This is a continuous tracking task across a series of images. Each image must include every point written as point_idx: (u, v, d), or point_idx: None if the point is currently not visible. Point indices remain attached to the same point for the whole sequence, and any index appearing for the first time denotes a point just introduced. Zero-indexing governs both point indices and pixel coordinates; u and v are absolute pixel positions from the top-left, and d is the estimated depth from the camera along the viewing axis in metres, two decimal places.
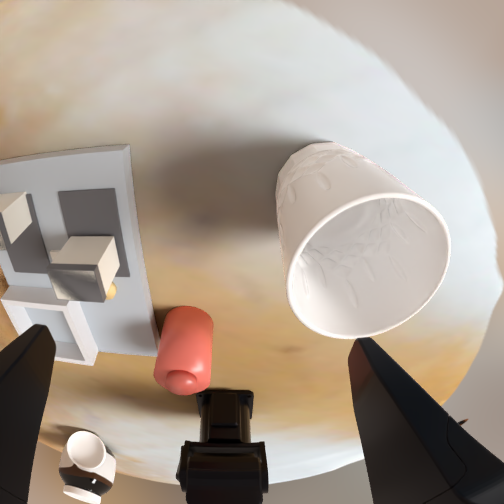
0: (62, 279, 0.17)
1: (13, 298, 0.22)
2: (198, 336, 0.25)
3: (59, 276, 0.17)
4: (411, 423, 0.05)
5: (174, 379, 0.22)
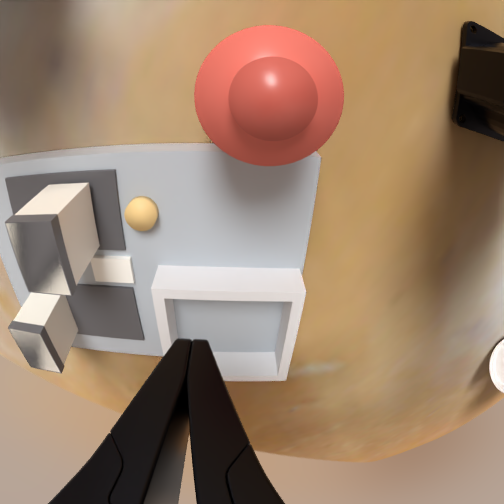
0: (33, 273, 0.11)
1: None
2: None
3: (31, 277, 0.12)
4: (195, 440, 0.05)
5: (234, 109, 0.08)
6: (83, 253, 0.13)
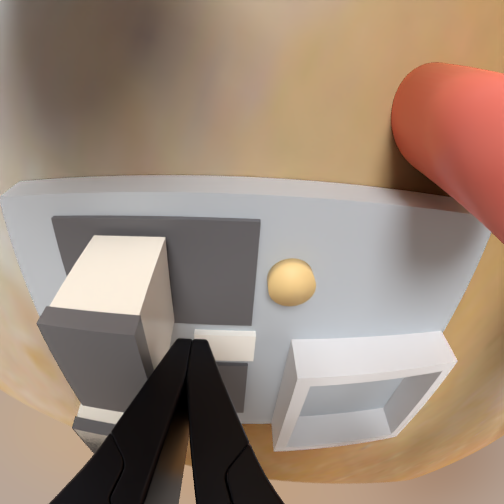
0: (94, 390, 0.07)
1: (277, 436, 0.15)
2: (458, 87, 0.06)
3: (89, 392, 0.07)
4: (194, 440, 0.05)
5: None
6: (163, 346, 0.09)
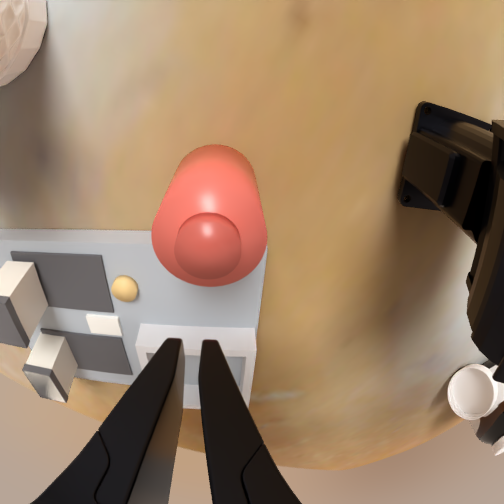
0: (0, 332, 0.14)
1: None
2: (172, 181, 0.14)
3: None
4: (208, 441, 0.05)
5: (179, 259, 0.12)
6: (33, 315, 0.17)
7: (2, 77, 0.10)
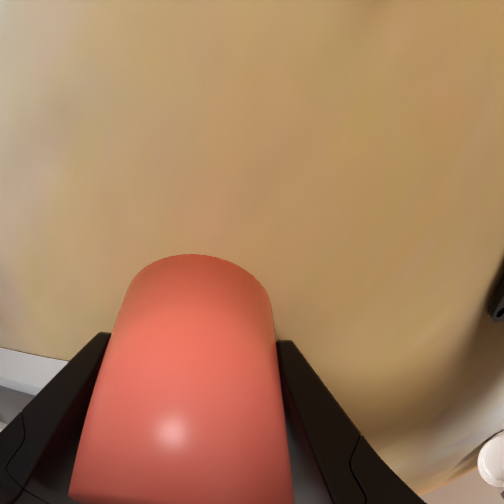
0: None
1: None
2: (100, 369, 0.06)
3: None
4: (310, 439, 0.05)
5: None
6: None
7: None
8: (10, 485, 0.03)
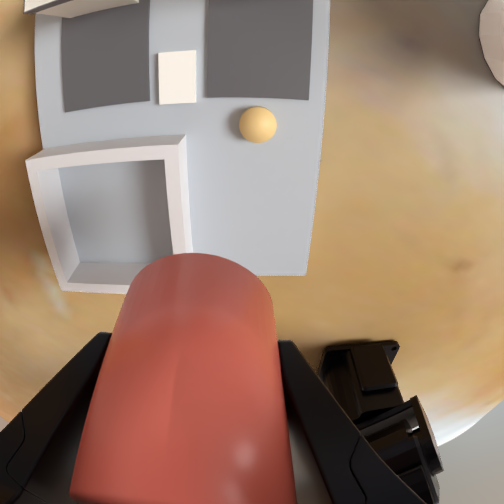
0: None
1: (53, 154, 0.12)
2: (101, 368, 0.06)
3: None
4: (310, 439, 0.05)
5: None
6: None
7: None
8: (10, 485, 0.03)
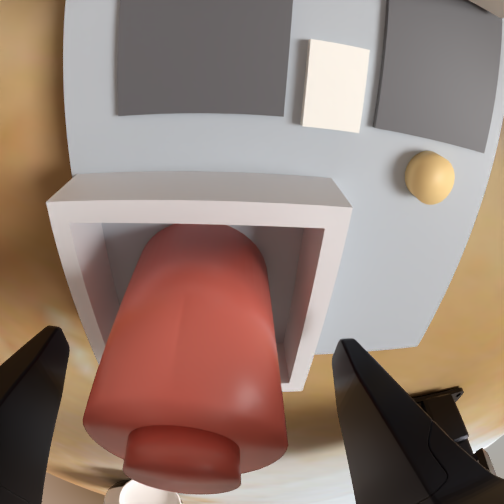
0: None
1: (101, 196, 0.07)
2: (118, 312, 0.07)
3: None
4: (391, 427, 0.05)
5: (136, 479, 0.05)
6: None
7: None
8: None
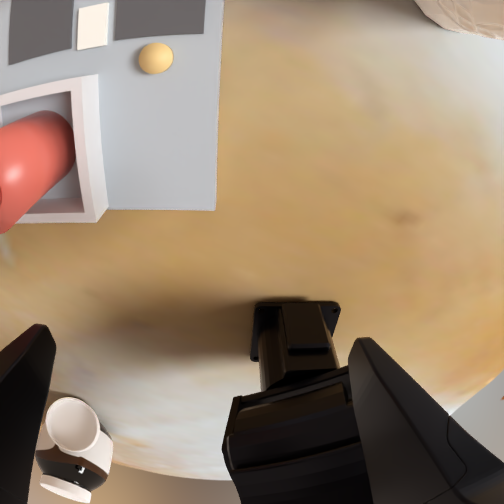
0: None
1: None
2: None
3: None
4: (411, 423, 0.05)
5: None
6: None
7: None
8: None
